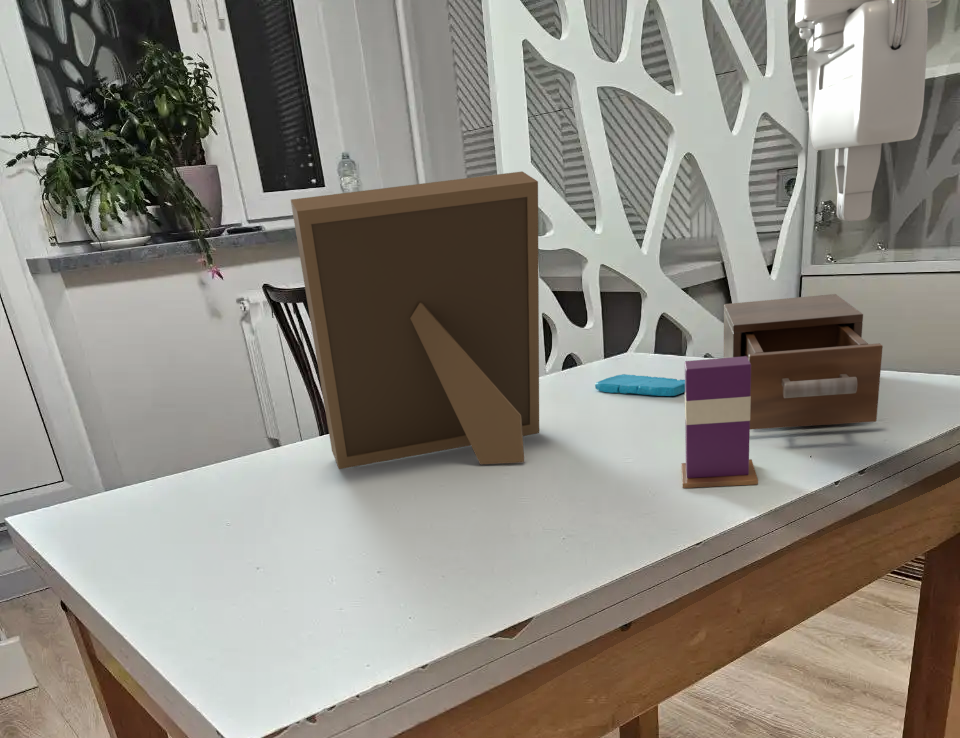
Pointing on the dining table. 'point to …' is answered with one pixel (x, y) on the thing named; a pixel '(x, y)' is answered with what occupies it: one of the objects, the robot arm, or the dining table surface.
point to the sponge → (641, 385)
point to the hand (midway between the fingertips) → (852, 220)
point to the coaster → (720, 479)
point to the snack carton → (717, 417)
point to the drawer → (812, 376)
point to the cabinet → (785, 317)
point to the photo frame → (425, 316)
